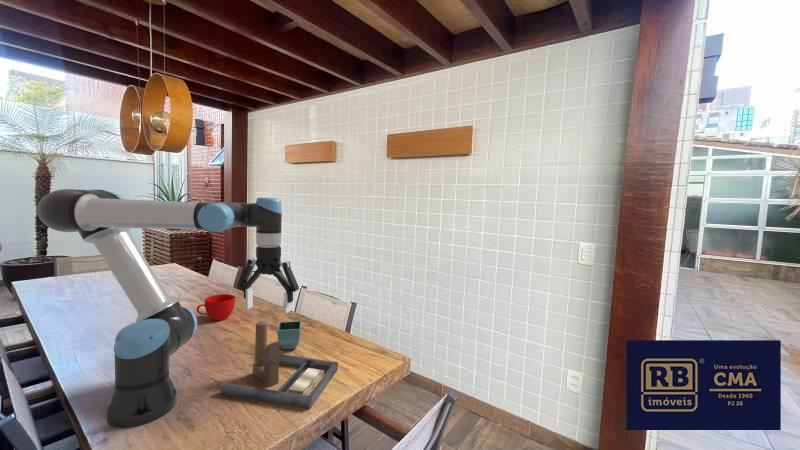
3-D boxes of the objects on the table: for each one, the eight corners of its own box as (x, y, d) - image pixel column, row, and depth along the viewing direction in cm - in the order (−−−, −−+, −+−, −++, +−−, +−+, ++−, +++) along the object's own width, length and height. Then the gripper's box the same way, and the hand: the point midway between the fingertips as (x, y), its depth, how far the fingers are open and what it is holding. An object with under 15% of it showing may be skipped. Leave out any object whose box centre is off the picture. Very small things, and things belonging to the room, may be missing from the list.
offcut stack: (302, 402, 97) (302, 392, 97) (286, 399, 98) (287, 389, 98) (324, 374, 113) (324, 366, 112) (310, 372, 113) (311, 364, 113)
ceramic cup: (190, 321, 152) (190, 300, 151) (226, 311, 166) (226, 292, 165) (203, 328, 144) (203, 306, 144) (240, 317, 159) (240, 297, 158)
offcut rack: (310, 408, 93) (310, 398, 93) (220, 394, 98) (220, 384, 98) (337, 370, 115) (337, 362, 115) (262, 359, 120) (262, 351, 119)
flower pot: (276, 352, 125) (276, 330, 125) (278, 343, 134) (279, 321, 133) (300, 351, 128) (300, 329, 127) (300, 341, 136) (301, 320, 136)
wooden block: (268, 387, 103) (269, 332, 101) (252, 374, 110) (253, 322, 108) (279, 382, 105) (280, 329, 104) (262, 370, 112) (263, 319, 111)
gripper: (310, 246, 106) (308, 309, 108) (241, 241, 110) (241, 302, 112) (299, 249, 99) (298, 317, 100) (225, 244, 103) (225, 310, 104)
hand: (268, 310), depth 106 cm, fingers open, 13 cm apart
